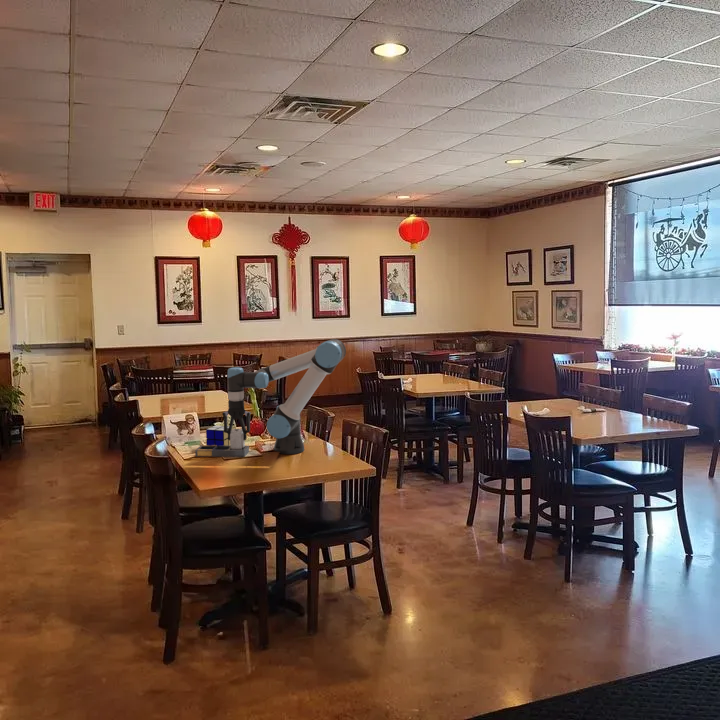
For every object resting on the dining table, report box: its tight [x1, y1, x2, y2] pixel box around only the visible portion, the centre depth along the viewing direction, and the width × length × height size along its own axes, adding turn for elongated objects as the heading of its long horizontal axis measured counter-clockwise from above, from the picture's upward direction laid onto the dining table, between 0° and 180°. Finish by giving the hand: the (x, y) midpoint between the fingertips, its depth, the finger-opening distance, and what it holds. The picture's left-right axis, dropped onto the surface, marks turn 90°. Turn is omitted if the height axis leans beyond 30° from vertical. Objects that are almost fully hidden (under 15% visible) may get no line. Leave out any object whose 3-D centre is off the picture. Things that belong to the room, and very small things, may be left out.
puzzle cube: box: [205, 425, 230, 445], centre depth 369 cm, size 10×10×10 cm
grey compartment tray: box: [194, 444, 250, 458], centre depth 351 cm, size 24×10×4 cm, turn 87°
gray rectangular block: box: [231, 428, 244, 450], centre depth 350 cm, size 5×5×12 cm
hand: (237, 446), depth 350 cm, fingers closed on gray rectangular block, 5 cm apart
